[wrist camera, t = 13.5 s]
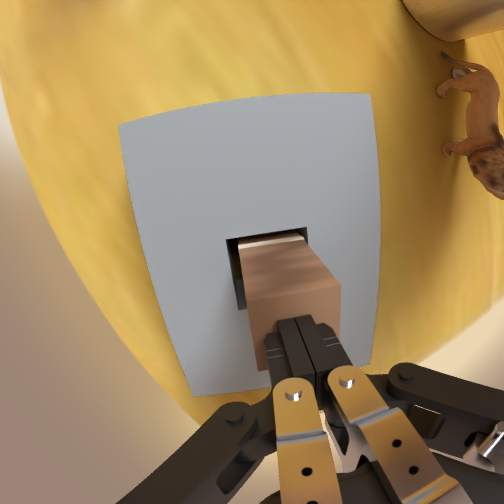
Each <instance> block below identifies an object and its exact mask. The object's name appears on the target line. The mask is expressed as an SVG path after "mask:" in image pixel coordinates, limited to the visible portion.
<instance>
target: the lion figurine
mask: <svg viewBox="0 0 504 504" xmlns="http://www.w3.org/2000/svg"><path fill="white" fill-rule="evenodd" d="M440 52H441V56H442V57H443V58H444V59H445V60H446V61H448V62H450V63H453V64H456V65H459V66H463V67H467V68H471V69H475V70H478V71H476V72H471V71H470V70H469V69H467V68H455V69H454V70H453V77H454V79H453V78H450V79H448V80H447V81H446V82H444V83H443V84H441V85H439V86H438V87H437V90H436V92H437V94H438V96H440V97H442V98H443V97H446V91H447V89H449V88H451V87H454V88H457V89H459V90H462V91H465V92H469V93H471V100H470V102H469V104H468V107H467V110H466V129H467V135H468V138H466V139H462V140H459V142H449V143H447V144H445V145H444V146H443V147H442V152H443V154H444V155H445V156H451V152H455V153H458V154H461V155H465V156H467V159H468V161H469V166H470V168H471V171H472V173H473V176H474V177H475V178H477V179H478V180H479V181H480V182H481V183H482V184H483V186H484V187H485V189H486V190H487V191H489V192H490V193H492V194H493V195H494V196H495V197H497V198H499V199H501V200H504V139H503V137H502V135H501V134H500V132H499V126H498V115H497V108H498V101H499V95H500V93H499V87H498V84H497V82H496V80H495V78H494V76H493V74H492V73H491V72H490V71H489V70H488V69H487V68H485V67H484V66H482V65H479V64H475V63H469V62H461V61H457V60H454V59H452V58H450V57H449V56H448V55H447V54H445V53H444V52H442V51H440ZM461 75H463V77H461Z"/></svg>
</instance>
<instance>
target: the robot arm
mask: <svg viewBox="0 0 504 504" xmlns="http://www.w3.org/2000/svg"><path fill="white" fill-rule="evenodd" d="M402 1H403V3H404V5H405V6H406V8H407V9H408V11H409V12H410V13H411V15H412V16H413V17H414V19H415V20H416V21H417V22H418V23H419V24H420V25H421V26H422V27H423V28H424V29H426V30H427V31H428V32H429V33H431V34H432V35H433V36H435V37H437V38H439V39H441V40H443V41H446V42H455V41H458V40H461V39H467V38H471V37H474V36H478V35H482V34H485V33H489V32H494V31H498V30H502V29H504V0H402ZM277 330H278V332H274V333H269V334H267V335H266V337H265V340H264V348H265V354H266V361H267V367H268V372H269V377H270V382H271V387H272V390H271V392H270V394H269V395H268V396H267V397H266V398H265V399H264V400H262V401H260V402H258V403H256V404H254V405H251V406H250V405H248V404H246V403H243V402H230V403H227V404H225V405H223V406H221V407H220V408H219V409H218V410H217V411H216V412H215V413H214V414H213V415H212V416H211V417H210V418H209V419H208V420H207V421H206V422H205V423H204V424H203V425H202V426H201V427H200V428H199V429H198V430H197V431H196V432H195V433H194V434H193V435H192V436H191V437H190V438H189V439H188V440H187V441H186V442H185V443H184V444H183V445H182V446H181V447H180V448H179V449H178V450H177V451H176V452H175V453H173V454H172V455H171V456H170V457H169V458H168V459H167V460H166V461H165V462H164V463H163V464H161V465H160V466H159V467H158V468H157V469H156V470H155V471H154V472H153V473H151V474H150V475H149V476H148V477H147V478H146V479H145V480H144V481H142V482H141V483H140V484H139V485H138V486H136V487H135V488H134V489H133V490H132V491H131V492H129V493H128V494H127V495H126V496H125V497H123V498H122V499H121V500H120V501H118V502H117V503H116V504H227V503H228V502H229V501H230V500H231V498H232V497H233V496H234V495H235V494H236V493H237V492H238V491H239V489H240V488H241V487H242V486H243V484H244V483H245V482H246V481H247V480H248V478H249V477H250V476H251V475H252V473H253V472H254V471H255V470H256V468H257V467H258V466H259V465H260V463H261V462H262V461H263V459H264V457H265V456H267V455H269V454H272V453H274V452H276V451H277V456H278V467H279V480H280V490H279V491H277V492H275V493H273V494H271V495H270V496H268V497H267V498H265V499H264V500H263V501H262V502H260V503H259V504H504V391H503V390H499V389H495V388H491V387H488V386H484V385H481V384H477V383H474V382H470V381H467V380H463V379H460V378H457V377H453V376H450V375H447V374H443V373H440V372H437V371H434V370H431V369H428V368H425V367H421V366H418V365H416V364H412V363H399V364H397V365H395V366H393V367H392V368H391V369H390V371H389V374H382V375H369V374H365V373H364V372H363V371H362V370H361V369H360V368H358V367H355V366H353V364H352V362H351V361H350V359H349V357H348V355H347V353H346V352H345V350H344V348H343V346H342V344H341V343H340V341H339V339H338V337H337V336H336V334H335V332H334V330H333V328H331V327H330V326H328V325H327V324H325V323H320V324H316V323H315V321H314V319H313V317H312V315H311V314H308V315H303V316H298V317H294V318H288V319H282V320H277ZM415 405H417V406H420V407H423V408H425V409H423V408H420V407H417V406H415ZM426 409H428V410H431V411H428V410H426ZM319 410H323V411H324V413H325V425H326V428H327V430H328V432H329V434H330V436H331V439H332V441H333V443H334V445H335V447H336V449H337V452H338V454H339V456H340V458H341V461H342V467H343V472H344V473H336V471H335V466H334V461H333V457H332V453H331V448H330V444H329V440H328V436H327V434H326V432H324V431H323V428H322V423H321V419H320V415H319ZM432 411H434V412H437V413H440V414H437V413H434V412H432ZM429 448H431V449H435V450H437V451H440V452H443V453H446V454H449V455H452V456H455V457H459V458H462V459H463V460H464V463H463V462H460V461H457V460H454V459H451V458H449V457H446V456H443V455H441V454H438V453H435V452H431V451H430V450H429Z"/></svg>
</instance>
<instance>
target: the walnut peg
mask: <svg viewBox="0 0 504 504" xmlns="http://www.w3.org/2000/svg"><path fill="white" fill-rule="evenodd" d="M238 243H239V245H238V249H239V256H240V262H241V269H242V275H243V281H244V289H245V296H246V303H247V309H248V315H249V321H250V328H251V334H252V340H253V345H254V351H255V357H256V363H257V369H258V371H265V370H268V367H267V361H266V354H265V348H264V340H265V337H266V335H267V334H269V333H274V332H278V330H277V320H282V319H288V318H294V317H298V316H303V315H308V314H311V315H312V317H313V319H314V321H315V323H316V324H320V323H325V324H327V325H328V326H330V327H331V328H333V330H334V332H335V334H336V336H337V337H338V339H339V335H340V311H341V284H340V283H339V282H338V280H337V279H336V278H335V277H334V276H333V274H332V273H331V272H330V271H329V269H328V268H327V267H326V266H325V265H324V263H323V262H322V261H321V260H320V259H319V257H318V256H317V255H316V254H315V252H314V251H313V250H312V249H311V248H310V247H309V245H308V244H307V243H306V242H305V241H304V238H303V237H302V236H300V235H299V234H298V232H297V231H296V230H295V229H288V230H282V231H275V232H269V233H262V234H256V235H250V236H243V237H238Z"/></svg>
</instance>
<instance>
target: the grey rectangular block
mask: <svg viewBox="0 0 504 504" xmlns="http://www.w3.org/2000/svg"><path fill="white" fill-rule="evenodd" d="M118 127H119V135H120V141H121V148H122V154H123V160H124V166H125V172H126V177H127V182H128V187H129V192H130V197H131V202H132V206H133V211H134V215H135V220H136V224H137V228H138V232H139V236H140V240H141V244H142V248H143V252H144V255H145V259H146V263H147V266H148V270H149V273H150V277H151V280H152V283H153V287H154V290H155V293H156V296H157V300H158V303H159V306H160V309H161V312H162V315H163V318H164V321H165V324H166V327H167V330H168V332H169V335H170V338H171V341H172V343H173V346H174V349H175V351H176V354H177V357H178V359H179V362H180V364H181V367H182V370H183V372H184V375H185V377H186V379H187V382H188V384H189V387H190V389H191V391H192V394H193V396H194V397H197V396H209V395H219V394H228V393H236V392H243V391H250V390H257V389H263V388H269V387H271V382H270V377H269V372H268V370H265V371H258V369H257V363H256V357H255V351H254V345H253V340H252V334H251V328H250V321H249V315H248V309H247V303H246V296H245V289H244V281H243V279H238V280H236V277H235V271H234V266H233V260H232V254H231V249H230V243H229V239H231V238H237V237H243V236H250V235H256V234H262V233H269V232H275V231H282V230H288V229H295V230H296V231H297V232H298V234H299V235H300V236H302V237H303V238H304V241H305V242H306V243H307V244H308V245H309V247H310V248H311V249H312V250H313V251H314V252H315V254H316V255H317V256H318V257H319V259H320V260H321V261H322V262H323V263H324V265H325V266H326V267H327V268H328V269H329V271H330V272H331V273H332V274H333V276H334V277H335V278H336V279H337V280H338V282H339V283H340V284H341V311H340V335H339V341H340V343H341V344H342V346H343V348H344V350H345V352H346V353H347V355H348V357H349V359H350V361H351V362H352V364H353V366H355V367H361V366H364V365H368V364H370V359H371V352H372V345H373V338H374V330H375V321H376V311H377V300H378V287H379V270H380V238H381V216H380V184H379V167H378V154H377V144H376V134H375V126H374V118H373V110H372V104H371V97H370V94H360V93H304V94H285V95H272V96H261V97H251V98H243V99H235V100H228V101H221V102H215V103H209V104H203V105H198V106H193V107H187V108H183V109H178V110H173V111H169V112H165V113H160V114H156V115H152V116H148V117H145V118H141V119H137V120H134V121H130V122H127V123H123V124H120V125H118Z"/></svg>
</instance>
